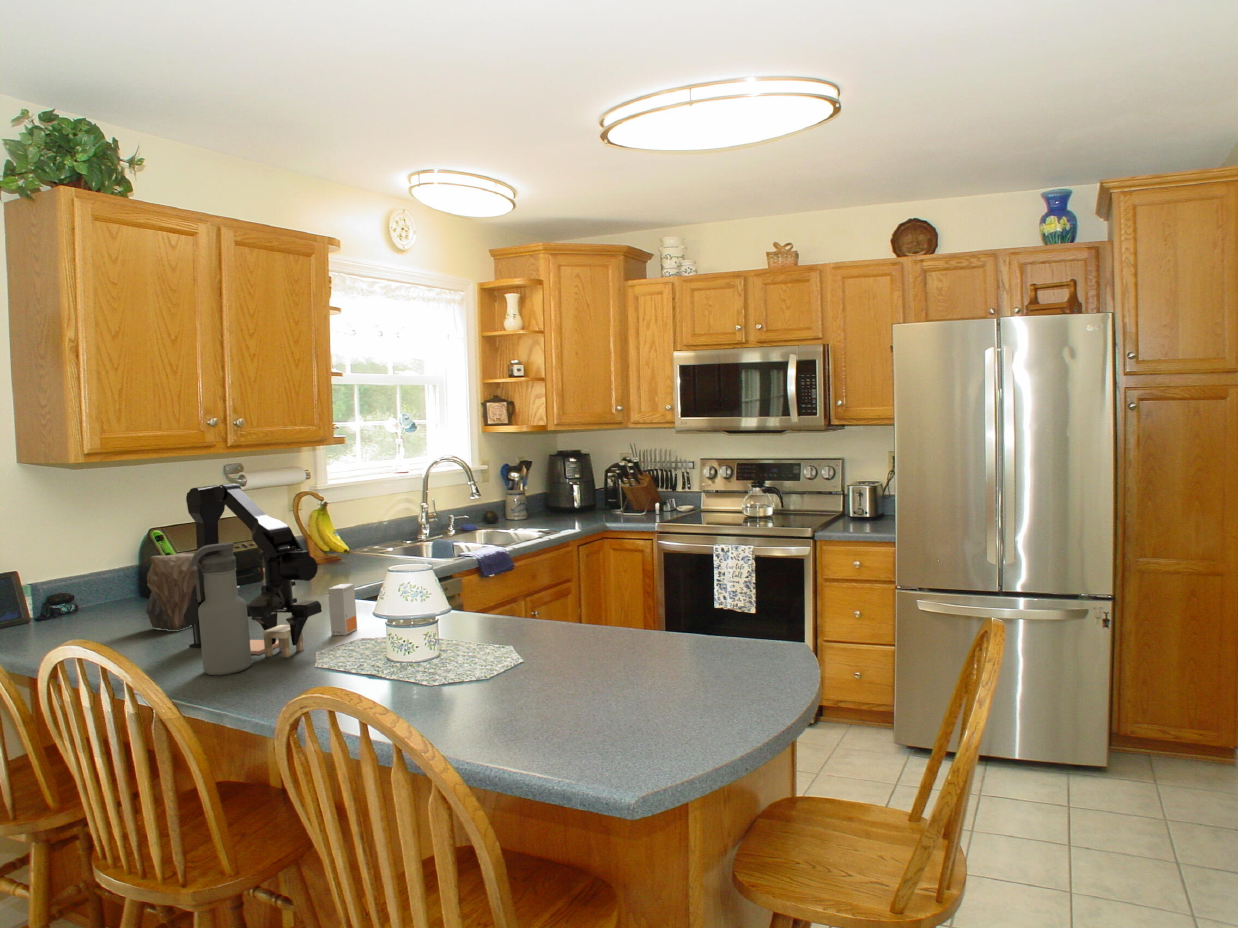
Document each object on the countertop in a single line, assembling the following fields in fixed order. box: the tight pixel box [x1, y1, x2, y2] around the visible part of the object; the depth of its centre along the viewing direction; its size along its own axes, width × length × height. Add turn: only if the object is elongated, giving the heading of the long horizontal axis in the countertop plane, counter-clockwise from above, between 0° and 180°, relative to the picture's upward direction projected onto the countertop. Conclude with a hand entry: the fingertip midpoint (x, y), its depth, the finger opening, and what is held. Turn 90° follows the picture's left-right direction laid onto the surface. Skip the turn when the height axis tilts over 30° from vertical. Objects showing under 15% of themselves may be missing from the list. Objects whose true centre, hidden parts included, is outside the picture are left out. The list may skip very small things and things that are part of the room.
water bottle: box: [192, 541, 252, 676], centre depth 192 cm, size 10×10×28 cm
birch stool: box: [262, 624, 305, 658], centre depth 203 cm, size 6×6×6 cm
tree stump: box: [145, 551, 196, 630], centre depth 240 cm, size 13×13×20 cm
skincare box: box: [327, 583, 358, 636], centre depth 220 cm, size 6×4×12 cm
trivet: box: [250, 639, 279, 655], centre depth 210 cm, size 10×9×1 cm
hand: (284, 644), depth 203 cm, fingers closed on birch stool, 6 cm apart
